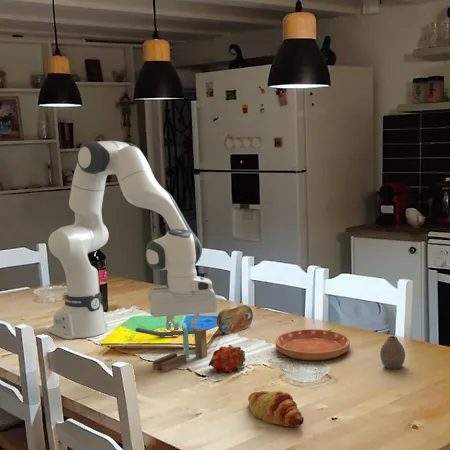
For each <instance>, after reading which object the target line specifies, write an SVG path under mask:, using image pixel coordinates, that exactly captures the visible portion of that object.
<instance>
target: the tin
mask: <svg viewBox="0 0 450 450" xmlns="http://www.w3.org/2000/svg"><path fill="white" fill-rule="evenodd" d="M253 318H254V314H253V310H252V309H251V307H250V306H249V305H247V304H238V305H236V306H235V305H234V306H232V307H231V306H230V307H229V308H225V309H222V310H221V311H220V312H219V313H218V314H217V317H216V326H218V327H219V329H218V330H219V331H220V332H221V333H223V334H227V335H231V334H233V333H237V332H240V331H242V330H243V331H244V330H246V329H249V327H250V326H251V324H252V322H253ZM218 327H217V328H218Z"/></svg>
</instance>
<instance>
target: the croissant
mask: <svg viewBox="0 0 450 450" xmlns="http://www.w3.org/2000/svg"><path fill="white" fill-rule="evenodd" d="M247 399H248V406H249V409H250V411H251V412H252V414H253V415H254V418H256V419H260V420H262V421H263V422H265V423H268V424H274V425H279V426H282V427H289V428H296V427H298V426H302V425H303V424H304V419H305V417H303V415H302V413H301V411H300V409H299V408H298V404H297V402H296V401H294V398H293V397H292V395H291V394H290V393H288V392H287V391H282V390H277V391H275V390H274V391H269V390H267V391H266V390H262V391H254V392H252V393H250V394H249V395H248V397H247Z"/></svg>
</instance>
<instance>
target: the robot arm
mask: <svg viewBox="0 0 450 450" xmlns="http://www.w3.org/2000/svg"><path fill="white" fill-rule="evenodd" d="M76 158H77V159H76V160H77V163H76V167H75V170H74V173H73V175H72V176H73V177H72V182H71V183H72V184H71V187H70V192H69V193H70V194H69V201H68V206H69V208H70V209H71V210H72V211H73V212H74V223H72V224H69V225H65V226H61V227H60V228H58V229H56V230H54V231H53V232H51V233H50V235H49V238H48V241H47V242H48V243H47V245H48V249H49V251H50V253H51V254H52V255H53V257H56V259H58V260H59V262H60V263H61V266H62V268H63V271H64V275H65V281H66V282H65V283H66V293H67V294H65V295H62V297H63V298H62V299H63V300H64V305H63V306H62V307H61V308H60V309H58V310H57V311H56V312H55V313H54V315H53V323H52V325H50V326H49V327H47V329H46V332H48V333H50V334H53V335H55V336H58V337H60V338H61V339H65V340H71V339H81V338H91V337H96V336H99V335H102V334H104V333H106V332H107V331H108V329H107V327H108V323H107V322H106V319H105V313H104V308H103V304H102V293H101V291H100V284H99V283H100V282H99V271H98V269H97V268H96V267H95V266H93V265H92V264H91V262H90V260H89V256H88V254H89V253H93V252H95V251H98V250H99V249H101V248H103V247H104V246H105V245H106V244H107V243H108V240H109V230H108V228H107V226H106V225H105V224H104V220H103V215H102V210H103V209H102V208H103V200H104V194H105V188H106V183H107V182H106V181H107V177H108V176H110V175H116V177H117V182H118V184H119V187H120V190H121V192H122V194H123V197H124V198H125V200H126V201H127V202H128V203H130V204H131V205H132V206H134V207H138V208H141V209H146V210H150V211H153V212H156V213H157V214H160V215H161V217H163V219H164V220H165V221H166V224H167V226H168V227H169V229H170V230H168V231H167V232H166V234H165V235H164V236H162V237H159V238H157V239H154V240H150V242H149V243H148V244H147V246H146V249H145V253H144V255H145V260H146V264H147V265H148V266H149V267H150V268H151V269H153V270H155V271H164V270H166V271H167V275H166V276H167V278H166V279H167V284H163V285H162V284H161V285H153V286H152V287H150V288H149V289H148V290H147V294H148V295H147V296H148V299H149V301H150V305H149V307H150V308H149V310H150V311H149V313H150V315H151V316H152V317H153V318H159V317H160V318H161V317H166V316H169V318H170V322H171V324H172V325H173V326H172V327H173V328H174V330H178V329H179V322H175V320H174V319H175V316H186V315H194V319H193V321H192V320H191V321H190V328H191V329H197V323H198V321H199V319H200V314H211V313H212V314H213V313H216V312H217V311H218V309H219V308H218V300H217V296H216V293H215V290H214V289H213V281H212V280H211V279H209V278H207V277H203V276H198V273H197V271H198V270H197V269H196V264H198V262H199V261H200V259H201V256H202V252H203V247H202V244H201V243H202V242H200V240H199V238H198V237H197V236H196V234H195V233H194V232H193V230H192V229H191V228H190V225H189V224H188V222H187V220H186V219H185V217H184V215H183V213H182V211H181V209H180V208H179V206H178V204H177V203H176V201H175V199H174V198H173V196H172V194H171V193H170V192H169V191H168V190H166V189H164V188H163V187H162V186H161V184H160V183H159V182H158V181H157V179H156V178H155V175H154V173H153V170H152V169H151V166H150V165H149V162H148V161H147V160H148V159H146V157H145V155H144V154H143V152H142V151H141V149H140V148H139V147H138V146H137V145H135V144H134V143H131V142H129V141H128V142H127V141H118V140H104V141H103V140H102V141H101V140H100V141H96V140H92V141H86V142H85V143H82V144H81V145H80V146H79V148H78V151H77V155H76Z"/></svg>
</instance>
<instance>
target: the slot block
mask: <svg viewBox="0 0 450 450" xmlns="http://www.w3.org/2000/svg"><path fill="white" fill-rule="evenodd" d="M186 364H187V358H186V355H185V354H180V355H178V353H176V352H172V353H169V354H166V355H165V356H161V357H160V358H157V359H155V360H152V369H153V371H158V372H161V373H168V372H171V371H174V370H175V369H178V368H180V367H182V366H184V365H186Z"/></svg>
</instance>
